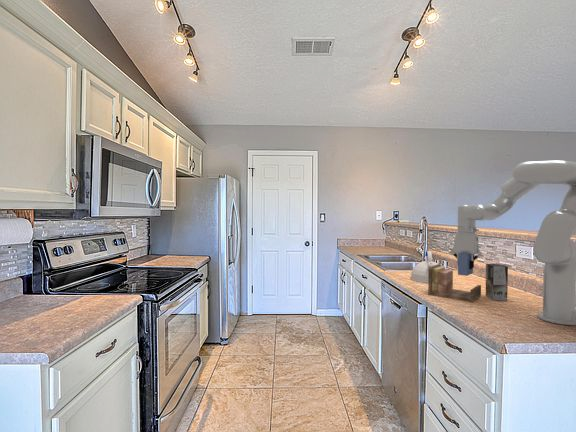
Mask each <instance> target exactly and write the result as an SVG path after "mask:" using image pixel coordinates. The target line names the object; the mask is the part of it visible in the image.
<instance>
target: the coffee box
mask: <svg viewBox="0 0 576 432" xmlns="http://www.w3.org/2000/svg"><path fill="white" fill-rule="evenodd" d="M508 280H509V266H507V265H504V264H501V263H485V297H488V298H489V299H491V300H492V301H503V302H508V282H509V281H508Z"/></svg>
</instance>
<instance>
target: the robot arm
mask: <svg viewBox="0 0 576 432" xmlns="http://www.w3.org/2000/svg"><path fill="white" fill-rule="evenodd" d="M541 184H544V185H545V184H547V185H548V184H551V185H564V186H565V185H566V186H568V190H567V192H566V193H565V196H564V197H563V200H562V202H561V206H560V207H559V209H558V210H553V211H551V212H550V213H548V214H546V215H545V217H544V218H543V220H542V221H541V223H540V227H539V229H538V232H537V235H536V238H535V241H534V244H533V246H532V253H533V256H534V257H535V259H536V260H537V261H538V262H540V263H543V264H544V265H543V267H544V268H543V277H542V280H543V286H542V312H541V311H540V312H538V313H537V317H538V319H540V320H541V321H542V320H543V321H545V322H548V323H551V324H552V323H553V324H558V325H563V326H576V243H575V242H574V241H573V240H572V239H571V238H572V236H576V162H575V161H569V160H564V159H561V160H556V159H555V160H537V161H534V160H533V161H532V160H530V161H528V160H527V161H523V162H520V163H518V164H517V165H516V166H515V167H514V168H513V171H512V177H511V178H509V179H508V180H507V181H505V182H504V183H503V184H502V185H501V186H500V190H501V193H500V195H499V196H497V198H496V199H494V200H493V201H492V202H490V203H479V204H459V206H457V231H456V233H455V237H454V241H453V247H452V249H451V250H450V251H449V253H450V254H451V255H453V256H454V257H455V258H456V260H458V254H459V253H465V254H470V262H469V269H473V270H474V267H475V260H477V259H478V258H481V257H482V256H483V253H482V251H481V250H480V245H479V243H480V242H479V236H478V235H479V234H478V233H476V232H479V231H480V229H479V228H477V227H476V221H479V222H480V221H482V222H483V221H494V220H496V219H498V218H499V217H501V216H503V215H504V214H505V213H507V212H509V210H511V209H512V208H513V207H514V206H515V204H516V203H517V202H518V200H519V199H521V198H522V197H523V196H525V195H526V194H527V193H529V192H530V191H532V190H533V189H535V188H536V187H538V186H539V185H541Z"/></svg>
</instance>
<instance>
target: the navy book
mask: <svg viewBox="0 0 576 432" xmlns="http://www.w3.org/2000/svg"><path fill="white" fill-rule="evenodd" d="M457 254H458V253H457ZM469 262H470V254H465V253H459V254H458V259H457V275H458V276H464V277H465V276H466V277H468V276H469V275H471V274H473V273H474V272H473V271H474V268H473V269H469Z"/></svg>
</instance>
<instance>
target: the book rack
mask: <svg viewBox="0 0 576 432" xmlns="http://www.w3.org/2000/svg"><path fill="white" fill-rule="evenodd" d="M453 272H454V270H453V269H446V267H445V266H443V265H441V264H440V263H438V264H437V265H434V266H431V267H429V269H428V284H427V285H428V287H427V288H428V290H427V292H428V293H427V295H429V296H434V297H441V298H445V299H453V300H458V301H463V302H469V303H474V302H476V301H477V300H478V299H479V298H481V297H482V285H480V284H477V285H476V286H474V287H472V288H471V289H470V291H467V290H461V289H454V287H453V286H454V280H453V279H454V273H453Z"/></svg>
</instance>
